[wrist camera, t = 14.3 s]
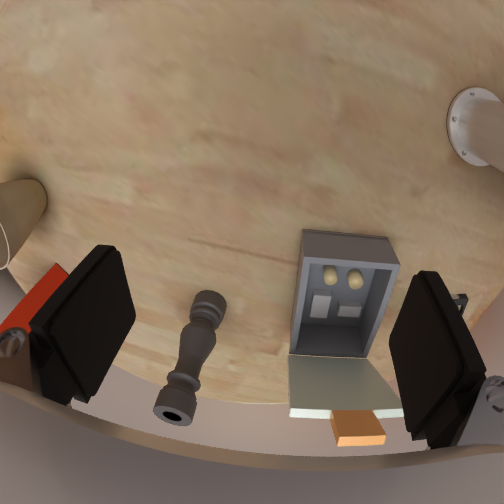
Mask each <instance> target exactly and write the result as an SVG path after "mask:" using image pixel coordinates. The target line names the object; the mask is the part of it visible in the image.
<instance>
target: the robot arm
mask: <svg viewBox="0 0 504 504" xmlns="http://www.w3.org/2000/svg"><path fill="white" fill-rule="evenodd" d="M452 117H453V119H452ZM447 130H448V136H449V139H450V142H451V144H452V146H453V148H454V150H455V151H456V153H457V154H458V155H459V156H460V157H461V158H462V159H463V160H465V161H466V162H468V163H470V164H472V165H475V166H488V165H491V166H493V167H495V168H496V169H498V170H500V171H501V172H503V173H504V103H502V102H501V101H500V100H499V98H498V97H497V96H496V95H495V94H493V93H492V92H490V91H488V90H487V89H483V88H478V87H472V88H467V89H465V90H463V91H461V92H460V93H459V94H458V95H457V96H456V97H455V98H454V100H453V102H452V103H451V106H450V108H449V111H448V117H447ZM135 318H136V313H135V309H134V305H133V301H132V298H131V294H130V290H129V286H128V283H127V279H126V275H125V270H124V266H123V262H122V258H121V254H120V252H119V251H117V250H116V248H115V247H114V246H110V245H97V246H96V247H95V248H94V249H93V250H92V251H91V252H90V253H89V254H88V255H87V256H86V257H85V258H84V259H83V260H82V262H81V263H80V264H79V265H78V266H77V267H76V268H75V269H74V270H73V271H72V272H71V273H70V275H69V276H68V277H67V278H66V279H65V280H64V281H63V282H62V283H61V285H60V286H59V287H58V288H57V289H56V290H55V291H54V293H53V294H52V295H51V296H50V297H49V298H48V300H47V301H46V302H45V303H44V304H43V306H42V307H41V308H40V309H39V310H38V312H37V313H36V314H35V315H34V317H33V318H32V319H31V320H30V322H29V323H28V324H29V326H30V328H31V331H30V333H29V334H28V332H27V331H26V330H25V329H24V328H22V327H12V328H9V329H7V330H5V331H3V332H2V333H1V334H0V504H504V377H502V376H495V375H494V376H491V377H488V378H487V379H486V376H485V374H484V373H485V372H486V367H485V365H484V363H483V360H482V358H481V356H480V353H479V351H478V349H477V347H476V344H475V342H474V340H473V338H472V336H471V334H470V332H469V330H468V328H467V326H466V323H465V321H464V319H463V317H462V316H461V314H460V312H459V310H458V308H457V306H456V304H455V302H454V300H453V298H452V297H451V295H450V293H449V291H448V289H447V287H446V286H445V284H444V282H443V280H442V279H441V277H440V275H439V274H438V272H435V271H422V270H421V271H419V273H418V274H417V275H414V276H413V278H412V280H411V283H410V286H409V289H408V292H407V294H406V297H405V300H404V302H403V305H402V308H401V310H400V313H399V315H398V318H397V320H396V323H395V325H394V327H393V330H392V332H391V335H390V338H389V348H390V352H391V356H392V360H393V365H394V369H395V373H396V378H397V382H398V388H399V392H400V397H401V403H402V408H403V413H404V419H405V425H406V430H407V431H408V432H411V436H412V441H414V440H423V439H427V444H428V447H427V448H426V450H425V451H416V452H407V453H398V454H386V455H372V456H351V457H350V456H349V457H311V456H289V455H274V454H262V453H252V452H244V451H236V450H229V449H222V448H216V447H209V446H204V445H198V444H193V443H187V442H183V441H179V440H174V439H170V438H166V437H161V436H157V435H153V434H149V433H146V432H142V431H138V430H135V429H131V428H128V427H124V426H121V425H118V424H115V423H111V422H108V421H105V420H102V419H99V418H97V417H93V416H91V415H88V414H85V413H83V412H80V411H77V410H74V409H72V407H71V402H70V401H71V399H72V398H73V397H74V399H76V400H79V401H81V402H84V403H88V402H89V400H90V398H91V396H94V395H95V394H96V393H97V391H98V389H99V387H100V385H101V383H102V381H103V379H104V377H105V375H106V374H107V372H108V370H109V368H110V366H111V364H112V362H113V360H114V358H115V357H116V355H117V353H118V351H119V349H120V347H121V345H122V344H123V342H124V340H125V338H126V336H127V334H128V333H129V331H130V329H131V327H132V325H133V324H134V322H135Z"/></svg>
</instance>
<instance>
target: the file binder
mask: <svg viewBox="0 0 504 504" xmlns="http://www.w3.org/2000/svg"><path fill="white" fill-rule="evenodd" d="M68 276H69V275H68V274H67V273H66V272H65V271H64V270H63V269H62V268H61V267H60V266H59V265H58V264H57V263H56V264H55V265H54V266H53V267H52V268H51V269H50V270H49V271H48V272H47V273H46V274H45V275H44V276H43V278H42V279H41V280H40V281H39V282H38V283H37V284H36V285H35V286H34V287H33V288H32V289H31V290H30V291H29V293H28V294H27V295H26V296H25V297H24V298H23V299H22V300H21V302H20V303H19V304H18V305H17V306H16V307H15V309H14V310H13V311H12V312H11V313H10V314H9V315H8V317H7V318H6V319H5V320H4V322H3V323H2V324H1V325H0V334H1V333H2V332H3V331H5V330H7V329H9V328H12V327H22V328H24V329H25V330H26V331H27V332H28V334H29V333H30V331H31V328H30V326H29V324H28V323H29V322H30V320H31V319H32V318H33V317H34V315H35V314H36V313H37V312H38V310H39V309H40V308H41V307H42V306H43V304H44V303H45V302H46V301H47V300H48V298H49V297H50V296H51V295H52V294H53V293H54V291H55V290H56V289H57V288H58V287H59V286H60V285H61V283H62V282H63V281H64V280H65V279H66V278H67V277H68Z"/></svg>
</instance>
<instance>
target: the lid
mask: <svg viewBox="0 0 504 504" xmlns="http://www.w3.org/2000/svg"><path fill="white" fill-rule="evenodd" d="M287 368H288V396H289V417H300V418H325V419H326V418H327V419H330V422H331V426H332V429H333V433H334V436H335V440H336V444H337V446H363V445H381V444H384V441H385V438H386V433H385V431H384V430H383V428H382V426H381V425H380V423H379V421H378V419H377V418H390V417H404V413H403V408H402V403H401V400H400V398H399V397H398V396H397V395H396V394H395V392H394V391H393V390H392V389H391V387H390V386H389V385H388V384H387V382H386V381H385V380H384V379H383V378H382V376H381V375H380V374H379V373H378V371H377V370H376V369H375V368H374V367H373V365H372V364H371V363H370V362H369V360H368V359H358V358H330V357H312V356H297V355H288V359H287Z"/></svg>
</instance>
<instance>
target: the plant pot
mask: <svg viewBox="0 0 504 504" xmlns="http://www.w3.org/2000/svg"><path fill="white" fill-rule="evenodd" d="M46 205H47V196H46V192H45V190H44V188H43V186H42V185H41V184H40V183H39V182H38V181H36V180H34V179H23V180H14V181H9V182H4V183H0V269H4V268H5V267H7V265H8V264H9V263H10V261H11V260H12V259H13V257H14V256H15V255H16V253H17V252H18V251H19V249H20V248H21V247H22V245H23V244H24V242H25V241H26V240H27V238H28V237H29V235H30V233H31V232H32V230H33V229H34V227H35V226H36V224H37V222H38V221H39V219H40V217H41V215H42V213H43V212H44V210H45V208H46Z"/></svg>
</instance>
